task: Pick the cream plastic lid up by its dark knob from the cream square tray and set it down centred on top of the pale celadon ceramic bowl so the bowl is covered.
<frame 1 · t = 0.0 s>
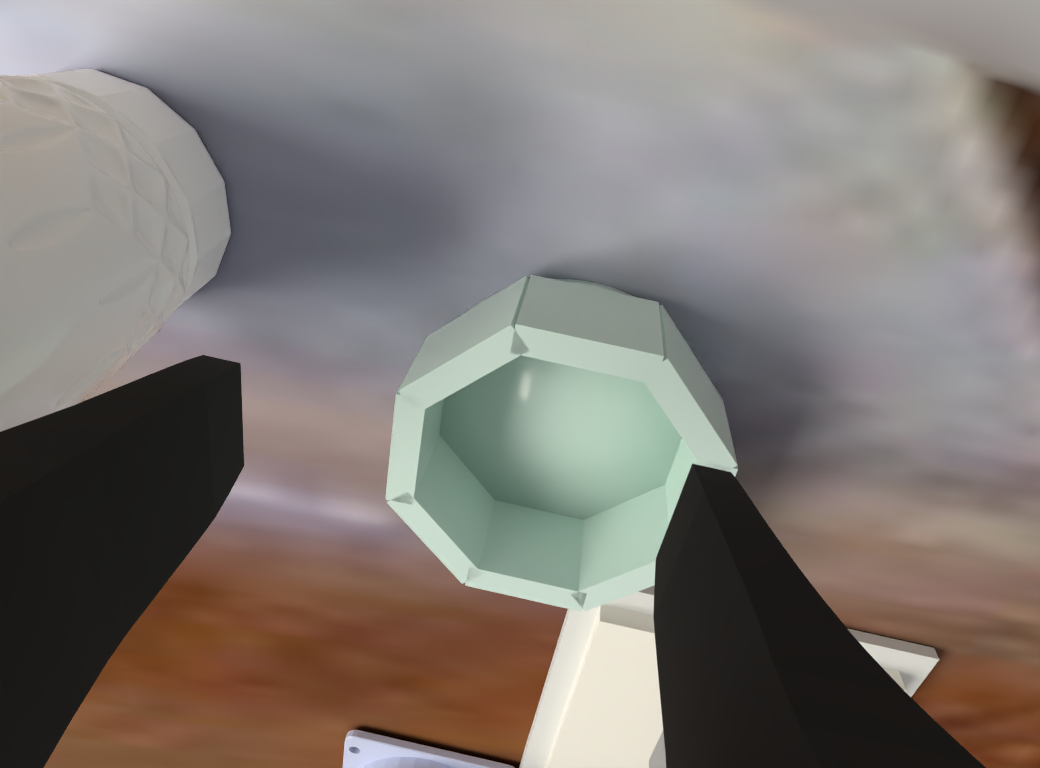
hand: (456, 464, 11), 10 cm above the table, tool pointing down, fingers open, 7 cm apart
white cup: (126, 191, 21), on the table
lid: (702, 726, 29), resting on cream square tray
cream square tray: (701, 715, 29), on the table
bowl: (563, 406, 23), on the table
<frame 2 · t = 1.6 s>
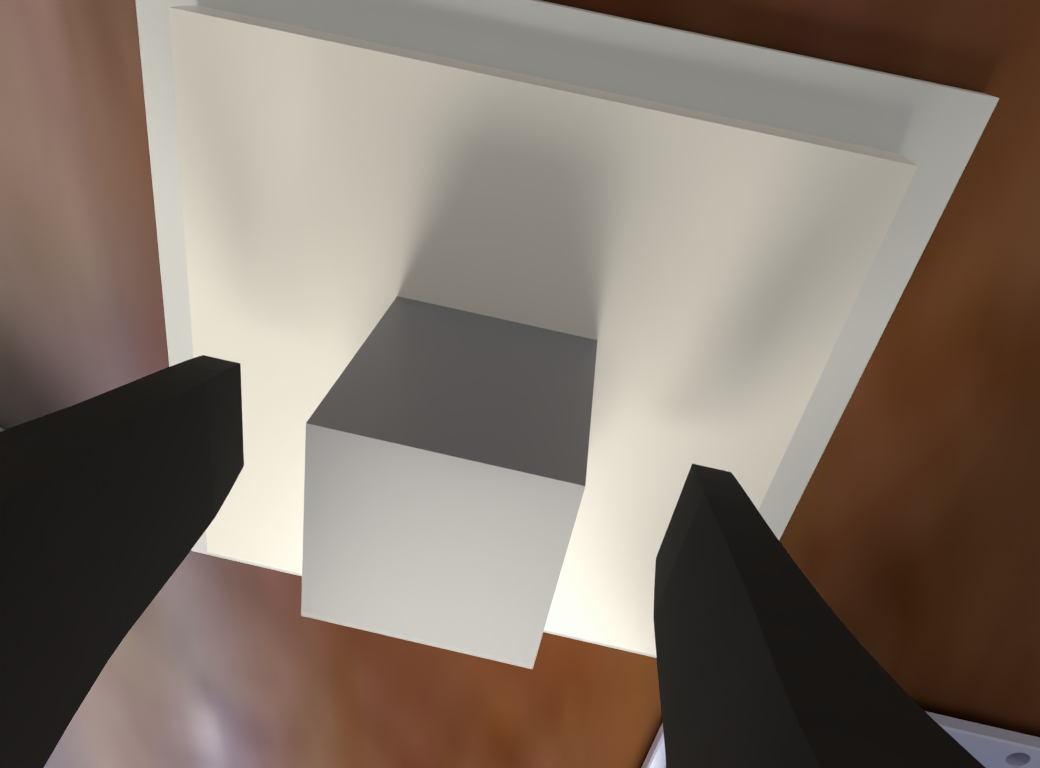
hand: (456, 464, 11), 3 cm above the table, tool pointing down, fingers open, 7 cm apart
lid: (489, 381, 14), resting on cream square tray
cream square tray: (493, 369, 14), on the table
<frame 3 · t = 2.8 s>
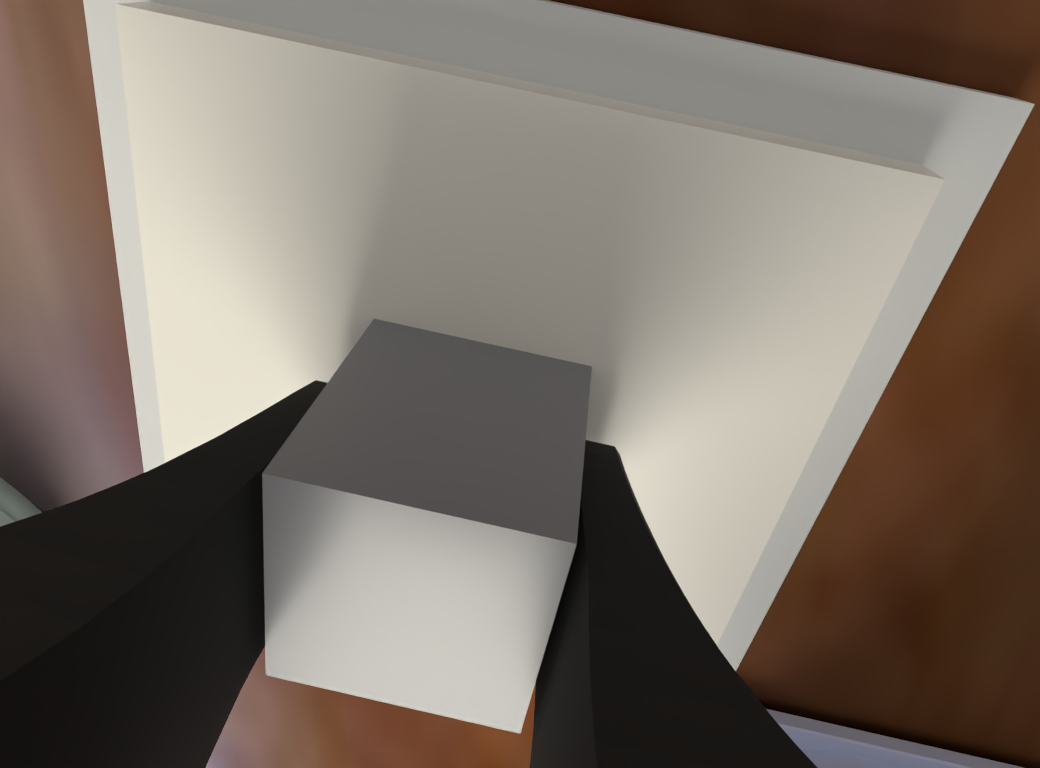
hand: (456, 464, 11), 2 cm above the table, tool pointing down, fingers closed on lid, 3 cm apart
lid: (475, 407, 13), resting on cream square tray, touching gripper
cream square tray: (480, 392, 13), on the table
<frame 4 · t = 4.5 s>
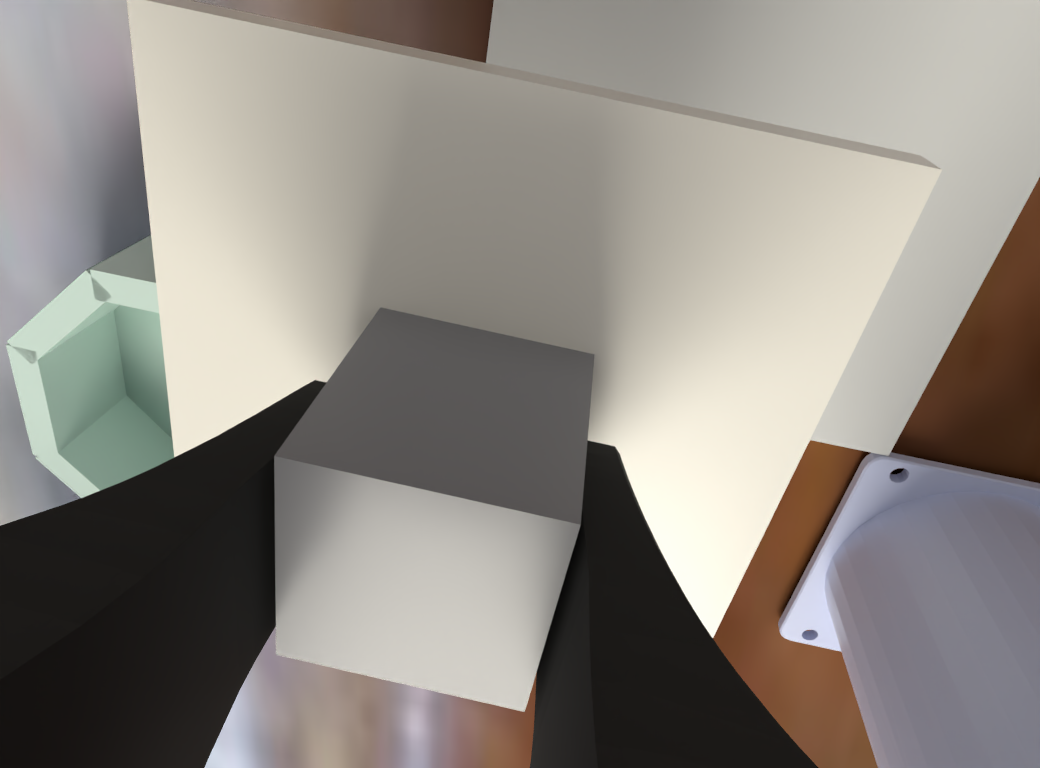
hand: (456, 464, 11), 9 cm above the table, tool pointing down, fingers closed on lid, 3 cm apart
lid: (480, 395, 13), point 7 cm above the table, touching gripper
cream square tray: (734, 184, 18), on the table
bowl: (247, 366, 23), on the table
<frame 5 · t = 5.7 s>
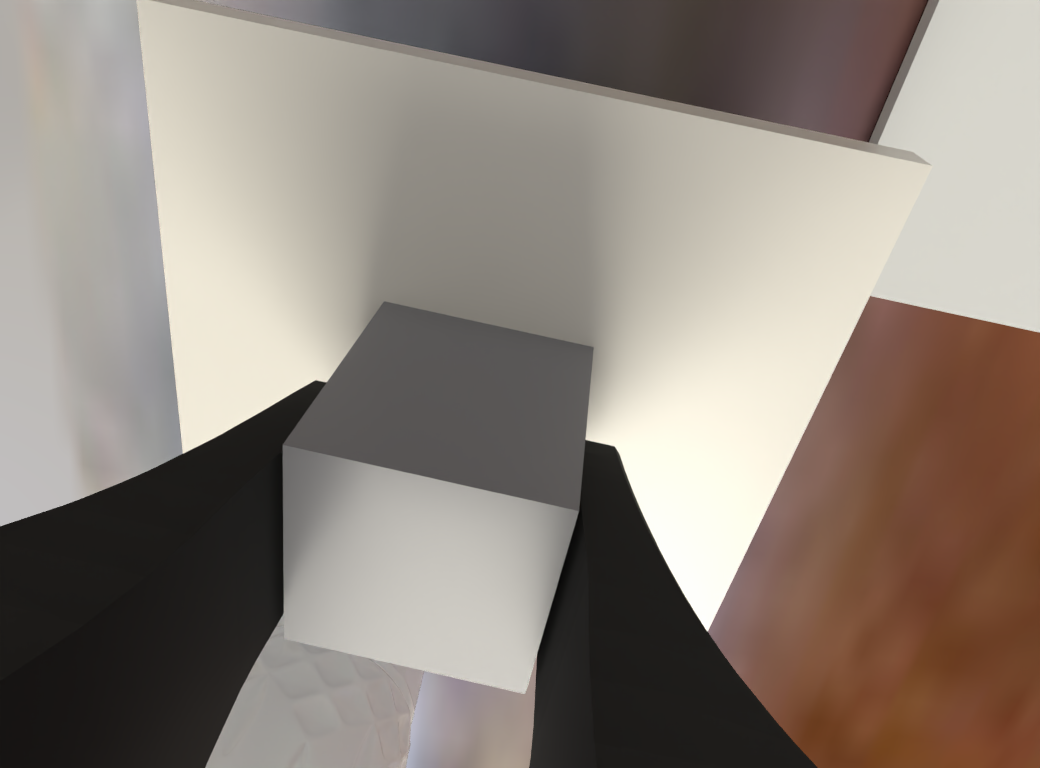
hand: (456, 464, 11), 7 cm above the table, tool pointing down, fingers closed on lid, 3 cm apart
white cup: (334, 631, 25), on the table
lid: (481, 387, 13), point 5 cm above the table, touching gripper
when the fingers open (7 cm above the table, at t = 6.5 s): lid stays where it is, resting on bowl.
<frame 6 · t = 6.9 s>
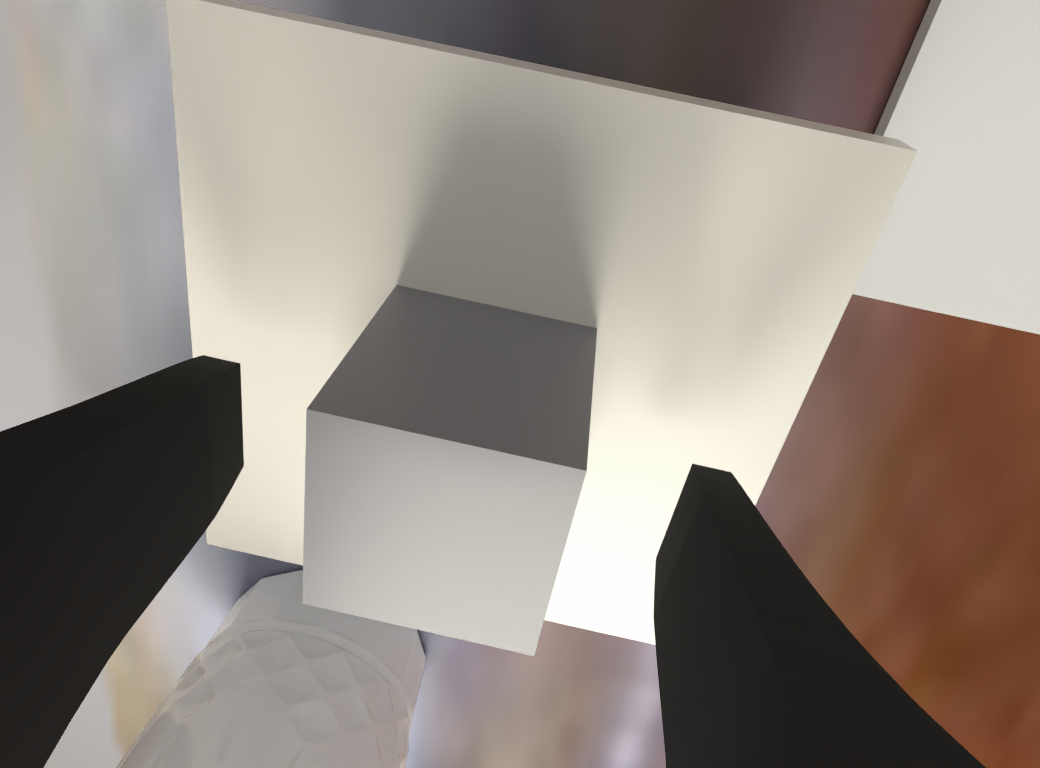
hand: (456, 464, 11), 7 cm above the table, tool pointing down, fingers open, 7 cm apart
white cup: (333, 634, 24), on the table
lid: (488, 370, 14), point 4 cm above the table, touching bowl
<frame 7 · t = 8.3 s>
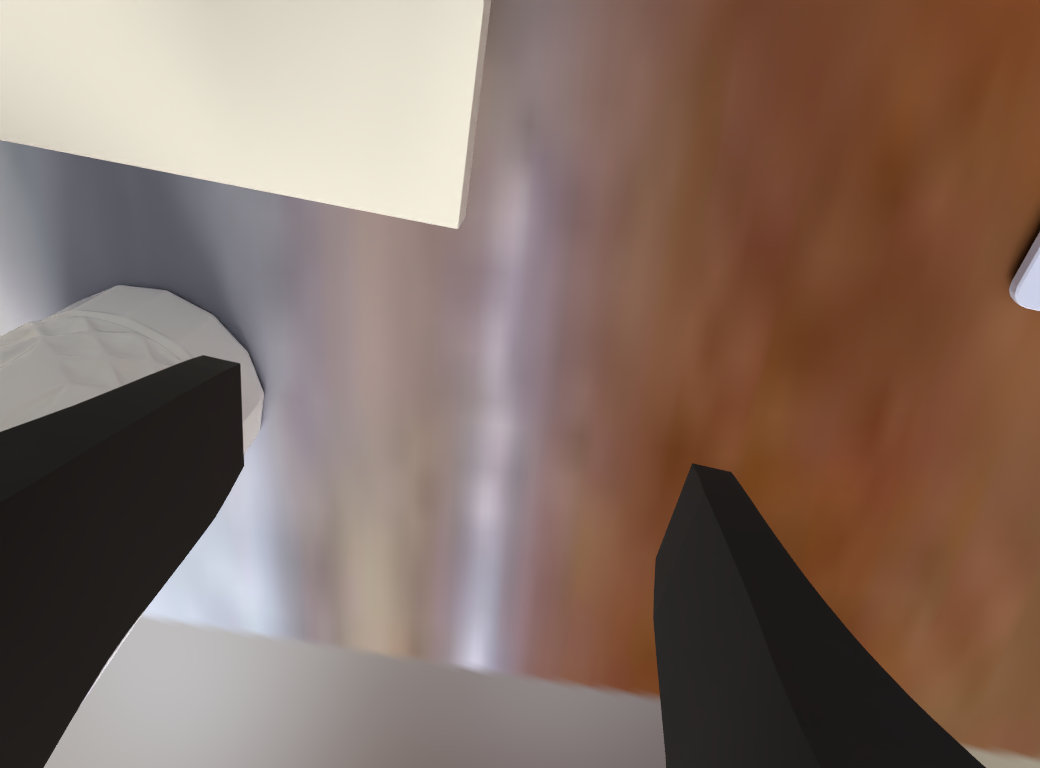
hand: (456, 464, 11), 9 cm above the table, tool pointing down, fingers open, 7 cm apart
white cup: (169, 376, 23), on the table
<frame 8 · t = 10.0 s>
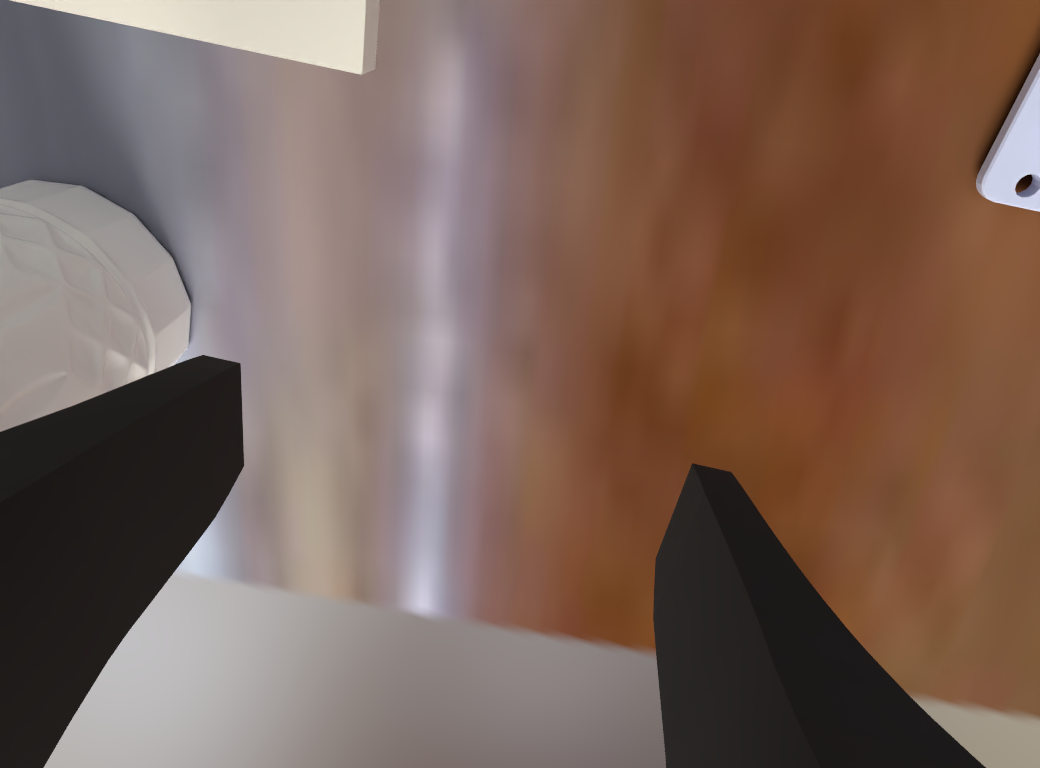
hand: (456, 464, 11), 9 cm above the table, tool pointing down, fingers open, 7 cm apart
white cup: (92, 286, 22), on the table
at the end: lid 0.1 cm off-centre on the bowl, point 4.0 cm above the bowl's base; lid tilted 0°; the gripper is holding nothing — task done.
